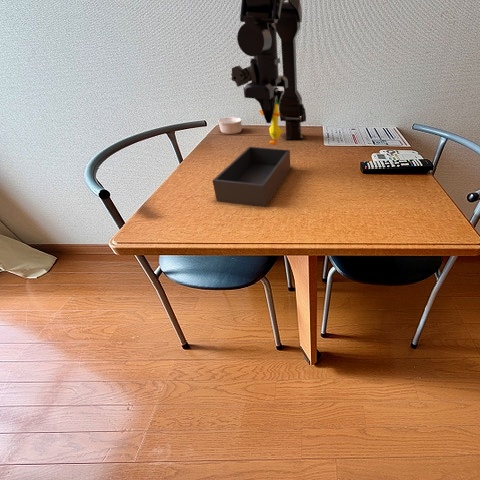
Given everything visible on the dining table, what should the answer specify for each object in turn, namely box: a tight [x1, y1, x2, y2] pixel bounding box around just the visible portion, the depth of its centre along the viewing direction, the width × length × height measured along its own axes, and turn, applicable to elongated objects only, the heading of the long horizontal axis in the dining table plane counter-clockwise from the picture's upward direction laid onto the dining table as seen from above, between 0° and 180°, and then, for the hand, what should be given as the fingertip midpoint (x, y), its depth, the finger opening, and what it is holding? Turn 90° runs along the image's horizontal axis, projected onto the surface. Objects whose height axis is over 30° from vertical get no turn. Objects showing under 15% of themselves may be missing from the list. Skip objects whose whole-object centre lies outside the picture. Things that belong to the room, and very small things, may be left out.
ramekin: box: [217, 116, 243, 135], centre depth 112 cm, size 9×9×4 cm
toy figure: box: [258, 98, 284, 146], centre depth 78 cm, size 7×4×12 cm, turn 81°
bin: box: [212, 146, 291, 208], centre depth 76 cm, size 23×12×6 cm, turn 170°
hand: (270, 121), depth 78 cm, fingers closed on toy figure, 2 cm apart
